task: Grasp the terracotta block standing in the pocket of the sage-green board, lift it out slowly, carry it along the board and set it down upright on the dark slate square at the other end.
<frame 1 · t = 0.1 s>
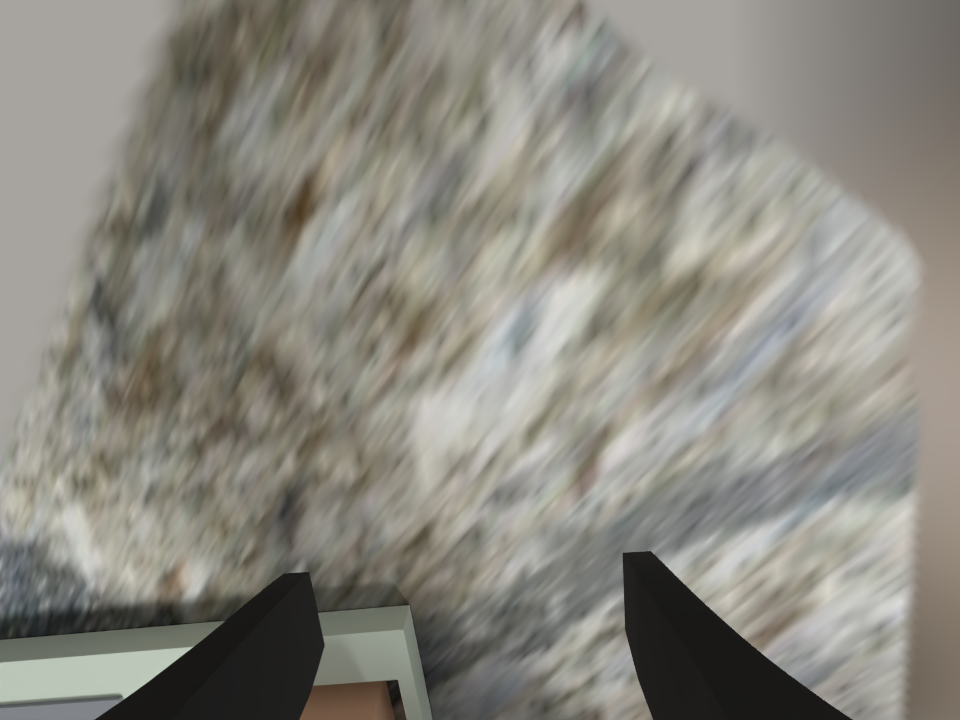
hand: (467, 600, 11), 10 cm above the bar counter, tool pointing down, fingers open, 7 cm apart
pocket board: (226, 717, 25), on the bar counter
terracotta block: (354, 707, 24), resting in pocket board
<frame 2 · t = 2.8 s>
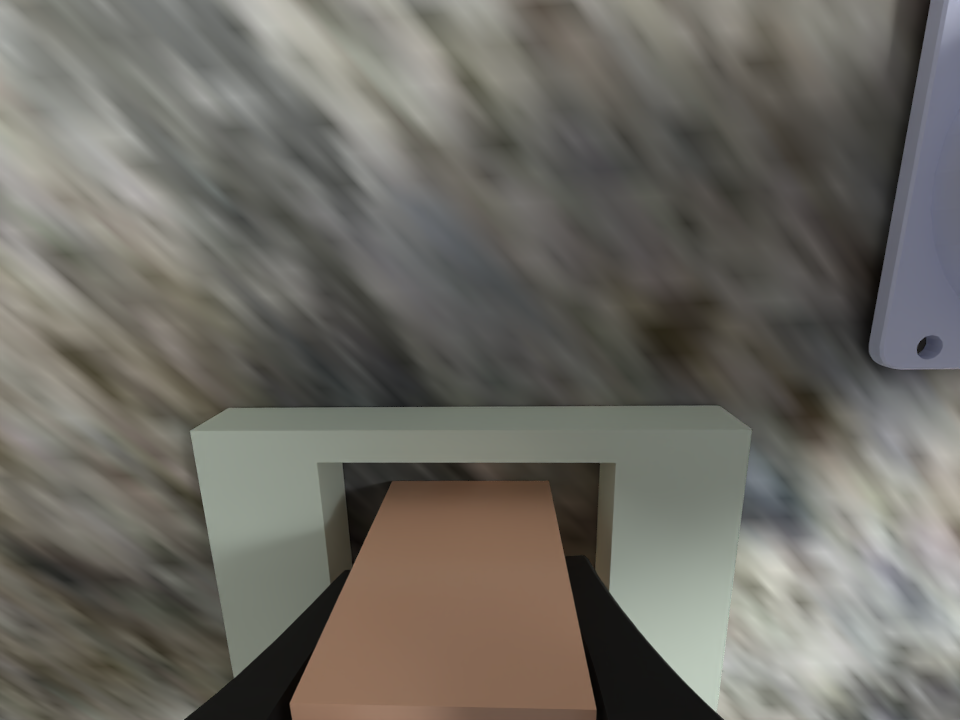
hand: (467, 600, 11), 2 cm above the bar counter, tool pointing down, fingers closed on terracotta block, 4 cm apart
terracotta block: (472, 549, 12), resting in pocket board, touching gripper
when the fingers open (4 cm above the bar counter, at t = 8.5 s): terracotta block stays where it is, resting on pocket board.
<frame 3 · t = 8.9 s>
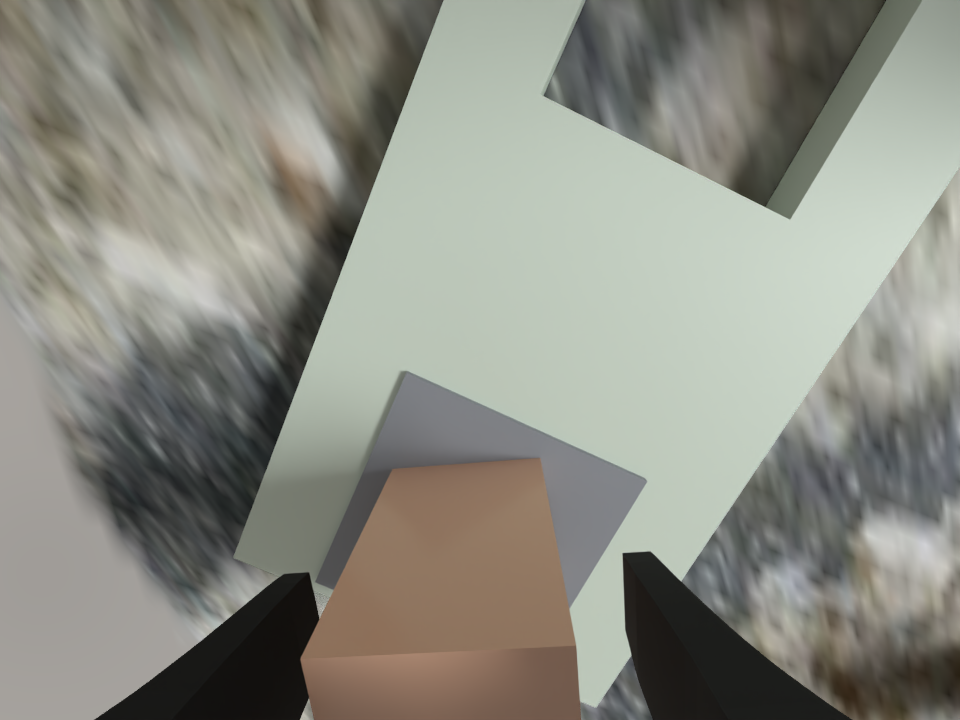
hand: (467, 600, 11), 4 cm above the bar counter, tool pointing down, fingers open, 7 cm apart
pocket board: (580, 299, 13), on the bar counter
terracotta block: (473, 529, 13), point 2 cm above the bar counter, touching pocket board
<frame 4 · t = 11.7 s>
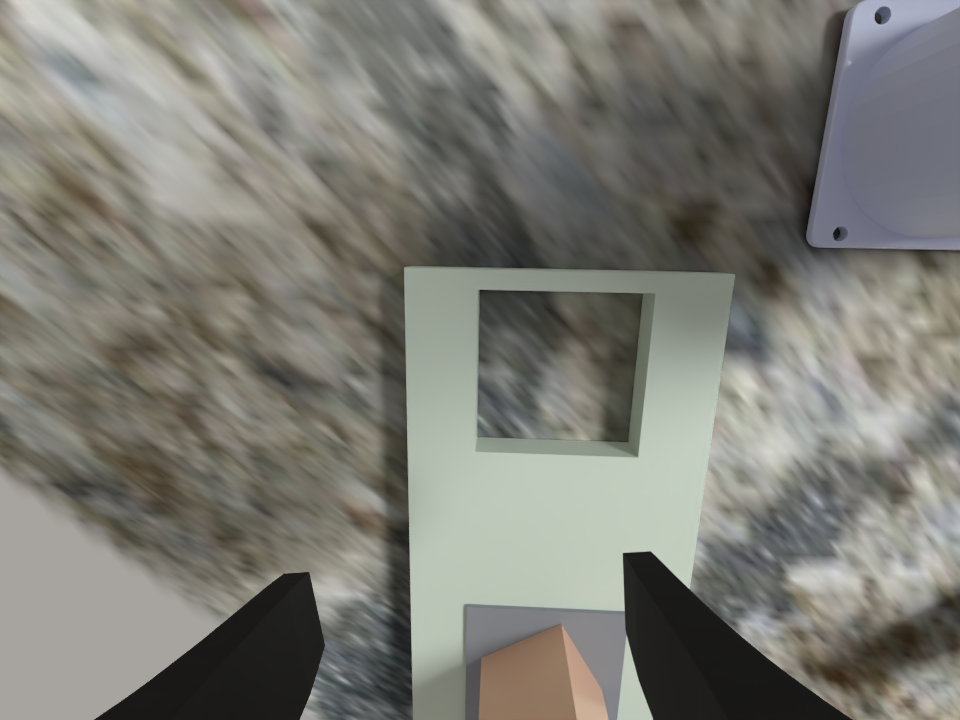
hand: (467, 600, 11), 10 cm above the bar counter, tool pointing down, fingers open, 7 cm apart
pocket board: (547, 517, 21), on the bar counter
terracotta block: (541, 673, 21), point 2 cm above the bar counter, touching pocket board
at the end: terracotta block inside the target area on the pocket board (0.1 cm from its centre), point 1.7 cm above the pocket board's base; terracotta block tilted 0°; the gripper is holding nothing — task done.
